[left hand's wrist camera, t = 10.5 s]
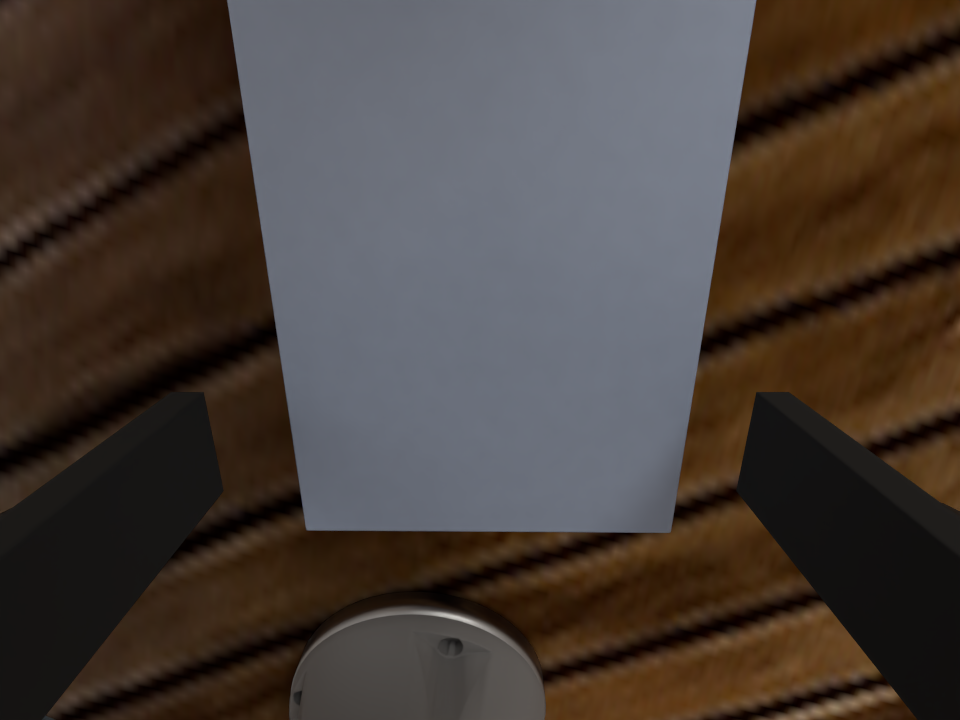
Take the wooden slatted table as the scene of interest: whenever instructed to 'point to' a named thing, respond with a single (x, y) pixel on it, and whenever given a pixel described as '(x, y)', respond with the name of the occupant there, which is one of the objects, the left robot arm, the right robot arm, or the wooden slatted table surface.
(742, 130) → the wooden slatted table surface
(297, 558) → the wooden slatted table surface
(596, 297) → the cabinet
